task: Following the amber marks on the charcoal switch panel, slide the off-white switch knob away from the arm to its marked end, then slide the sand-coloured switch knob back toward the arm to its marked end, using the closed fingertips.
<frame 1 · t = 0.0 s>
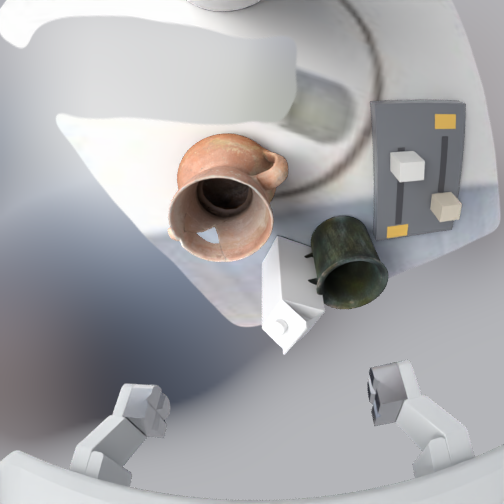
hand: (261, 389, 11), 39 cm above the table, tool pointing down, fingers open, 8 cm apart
sand slider: (445, 206, 44), point 4 cm above the table, slide at 0.0 cm
switch panel: (417, 169, 45), on the table
milk carton: (287, 254, 57), on the table, touching mug
off white slider: (407, 165, 40), point 4 cm above the table, slide at 0.0 cm
ceramic jug: (232, 170, 47), on the table
mug: (329, 239, 55), on the table, touching milk carton
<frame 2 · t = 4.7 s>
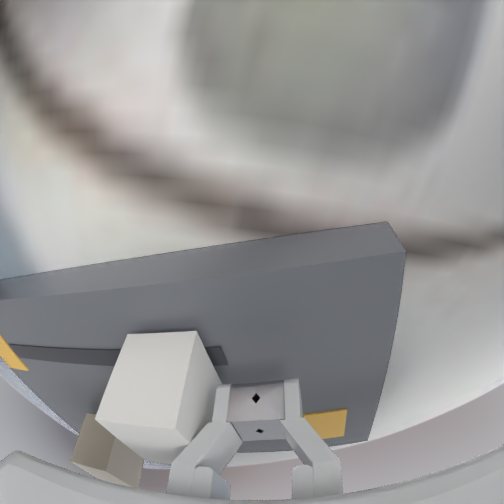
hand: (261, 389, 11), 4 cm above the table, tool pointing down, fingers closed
sand slider: (111, 452, 16), point 4 cm above the table, slide at 0.0 cm
switch panel: (164, 373, 17), on the table
off white slider: (168, 403, 11), point 4 cm above the table, slide at 0.0 cm, touching gripper
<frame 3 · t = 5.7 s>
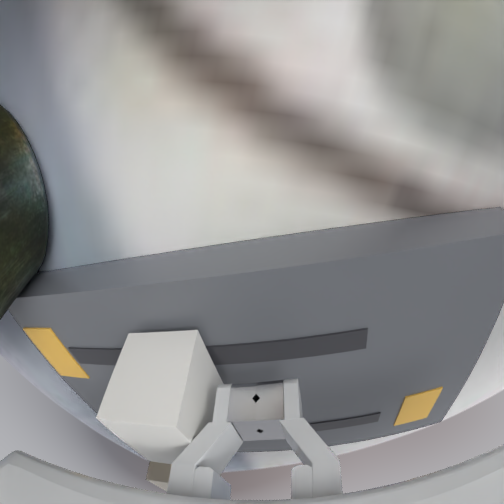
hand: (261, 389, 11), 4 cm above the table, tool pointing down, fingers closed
sand slider: (188, 463, 15), point 4 cm above the table, slide at 0.0 cm
switch panel: (261, 368, 16), on the table
off white slider: (169, 402, 11), point 4 cm above the table, slide at 5.8 cm, touching gripper
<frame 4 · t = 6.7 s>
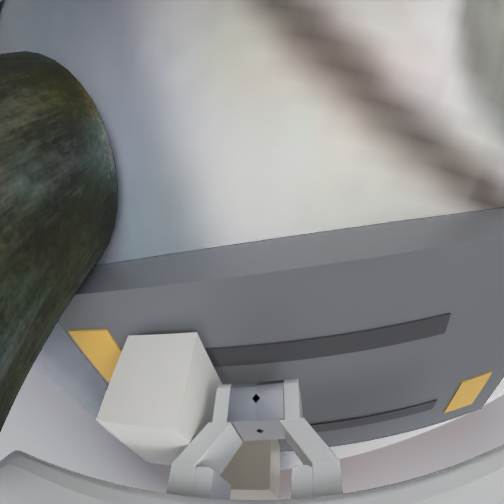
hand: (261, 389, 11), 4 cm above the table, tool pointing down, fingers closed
sand slider: (249, 466, 15), point 4 cm above the table, slide at 0.0 cm
switch panel: (331, 362, 16), on the table
off white slider: (169, 404, 11), point 4 cm above the table, slide at 9.5 cm, touching gripper
mug: (14, 136, 10), on the table, touching milk carton
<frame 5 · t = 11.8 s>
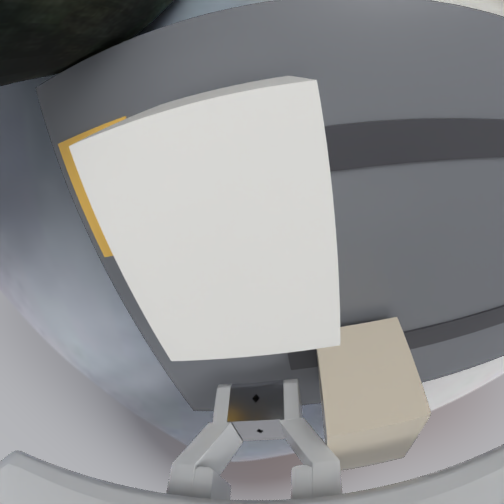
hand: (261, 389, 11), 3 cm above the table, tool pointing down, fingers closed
sand slider: (364, 400, 10), point 4 cm above the table, slide at 1.1 cm, touching gripper
switch panel: (435, 225, 11), on the table
off white slider: (234, 199, 6), point 4 cm above the table, slide at 9.6 cm
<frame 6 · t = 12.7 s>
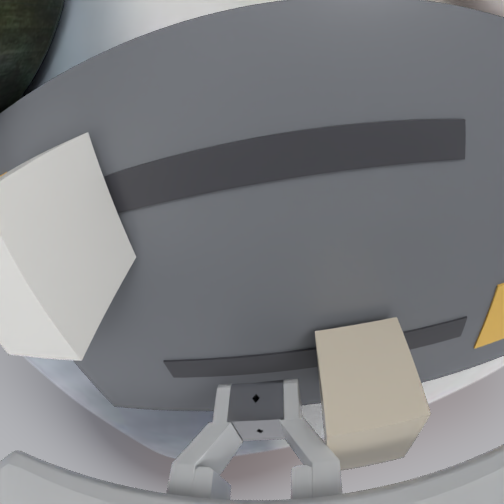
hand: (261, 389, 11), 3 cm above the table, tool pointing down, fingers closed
sand slider: (364, 400, 10), point 4 cm above the table, slide at 6.4 cm, touching gripper
switch panel: (306, 244, 11), on the table
off white slider: (37, 244, 7), point 4 cm above the table, slide at 9.6 cm
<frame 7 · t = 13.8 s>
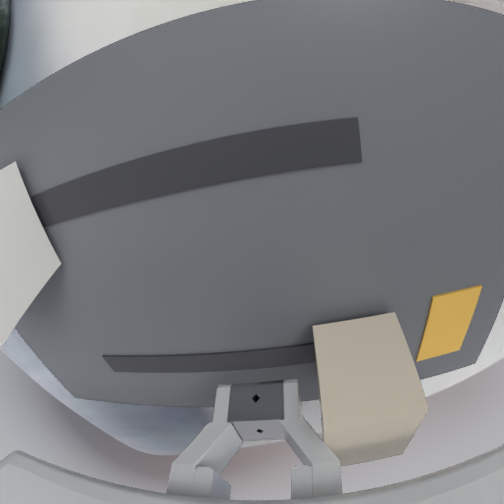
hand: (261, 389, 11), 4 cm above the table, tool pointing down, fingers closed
sand slider: (361, 396, 10), point 4 cm above the table, slide at 9.6 cm, touching gripper
switch panel: (219, 252, 12), on the table
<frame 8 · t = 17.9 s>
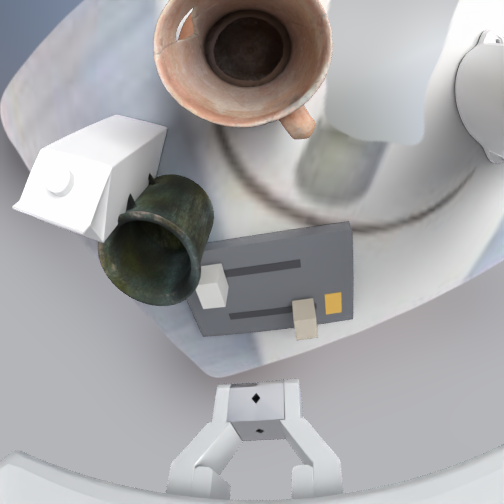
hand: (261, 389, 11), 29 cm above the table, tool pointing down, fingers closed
sand slider: (305, 319, 43), point 4 cm above the table, slide at 9.6 cm
switch panel: (268, 282, 45), on the table
milk carton: (136, 146, 35), on the table, touching mug
off white slider: (212, 286, 40), point 4 cm above the table, slide at 9.6 cm
ceramic jug: (254, 56, 29), on the table
mug: (170, 198, 39), on the table, touching milk carton
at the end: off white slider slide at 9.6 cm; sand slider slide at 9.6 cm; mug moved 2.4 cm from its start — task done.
